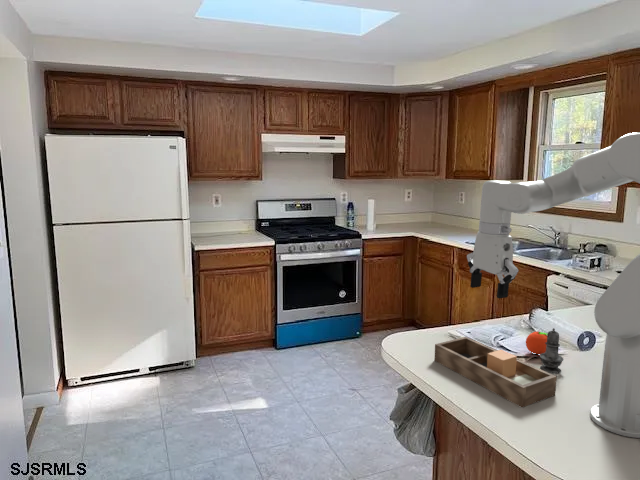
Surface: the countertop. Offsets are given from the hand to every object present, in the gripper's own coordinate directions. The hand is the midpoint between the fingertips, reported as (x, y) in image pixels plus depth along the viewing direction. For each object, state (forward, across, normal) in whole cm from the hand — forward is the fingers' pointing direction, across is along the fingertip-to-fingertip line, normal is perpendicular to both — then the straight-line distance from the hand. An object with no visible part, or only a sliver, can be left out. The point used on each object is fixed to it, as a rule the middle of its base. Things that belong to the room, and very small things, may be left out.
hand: (488, 292), depth 126 cm
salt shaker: (+22, -7, -18) cm, 30 cm away
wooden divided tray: (+22, -4, 0) cm, 23 cm away
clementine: (+23, +1, -23) cm, 33 cm away
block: (+20, -7, 0) cm, 21 cm away
